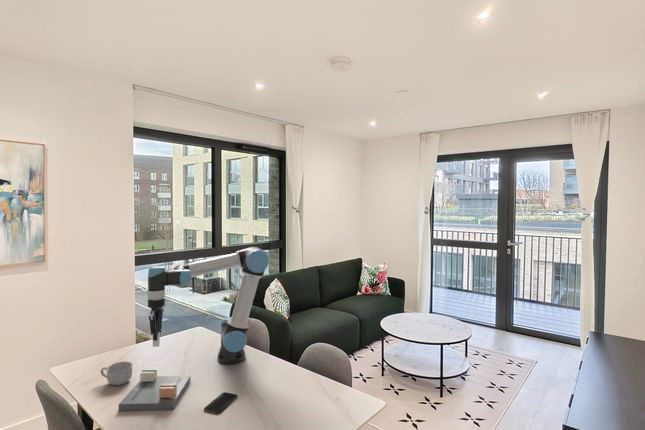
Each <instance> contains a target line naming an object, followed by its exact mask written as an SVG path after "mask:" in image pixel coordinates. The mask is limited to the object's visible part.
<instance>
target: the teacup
mask: <svg viewBox="0 0 645 430" xmlns="http://www.w3.org/2000/svg"><path fill="white" fill-rule="evenodd" d="M104 370H105V371H106V373H105V371H104ZM100 375H101V376H102V377H104V378H106V380H107V383H109V384H110V385H113V386H116V387H118V386H122V385H124V384H126V383H127V382H128V381H130V380H131V378H132V376H133V363H132V362H131V361H127V360H126V361H118V362H115V363H113V364H110V365H109V366H103V367H102V368H101V369H100Z"/></svg>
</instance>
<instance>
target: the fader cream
mask: <svg viewBox="0 0 645 430" xmlns="http://www.w3.org/2000/svg"><path fill="white" fill-rule="evenodd" d="M139 374H140V376H139V378H140V379H139V381H140V382H146V381H154V380H155V379H156V378H157V376H158V369H157V368H149V369H148V368H144V369H142V370H141V372H140V373H139Z"/></svg>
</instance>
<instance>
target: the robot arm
mask: <svg viewBox="0 0 645 430" xmlns="http://www.w3.org/2000/svg"><path fill="white" fill-rule="evenodd" d="M269 260H270V259H269V256H268V254H267V253H266V251H264V250H263V249H262V248H260V247H258V246H251V247H248V248H244V249H241V250H236V252H235V253H230V254H226V255H222V256H219V257H218V256H217V257H214V258H208V259H204V260H200V261H195V262H191V263H190V262H189V263H185V264H177V265H176V266H174V268H173V269H172V270H166V267H165V266H163V265H156V266H150V267H149V268H148V270H147V271H148V272H147V273H148V275H147V298H148V299H147V307H148V308H150V309H151V311H150V315H149V316H148V320H149V328H150V334H151V335H152V348H153V347H156V348H157V347H160V346H161V345H160V344H161V343H160V340H161V339H160V337H161V335H160V333H161V332H162V328H163V327H162V326H163V325H162V324H163V316H164V315H163V314H164V308H162V307H165V305H166V299H165V297H166V287H168V286H169V287H171V286H187V285H190V284H191V282H192V281H191V280H192V278H195V277H199V276H203V275H207V274H212V273H215V272H220V271H224V270H228V269H233V268H237V267H238V268H241V272H242V274H243V276H242V280H241V284H240V286H239V290H238V293H237V297H236V300H235V304H234V307H233V310H232V315H231V316H228V317H224V318H222V319H221V320H220V321H221V322H220V348H219V350H218V353H217V362H218V363H220V364H223V365H235V364H238V363H239V364H240V363H241V362H243V361H244V360H245V359H246V351H245V349H244V348H245V347H246V345H247V342H248V337H247V335H248V331H249V328H250V325H249V323H248V320H249V317H250V313H251V310H252V306H253V302H254V299H255V296H256V292H257V288H258V285H259V281H260V279H261V278H263V277H264V274H265V271H266V269H267V268H268V266H269V262H270V261H269Z"/></svg>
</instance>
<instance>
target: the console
mask: <svg viewBox="0 0 645 430" xmlns="http://www.w3.org/2000/svg"><path fill="white" fill-rule="evenodd" d="M190 383H191V375H164V376H163V375H161V376H160V375H157V378H156V379H155V380H154V381H146V382H140V380H139V381H138V382H137V383H136V384H135V386H133V387H132V389H131V390H130V391H129V392H128V393H127V394H126V395H125V397H124V398H123V399H121V401H120V402H119V403H118V412H137V411H138V412H141V411H142V412H143V411H146V412H147V411H173V410H174V409H175V408H176V406H177V405H178V403H179V401H180V399H181V398H182V396H183V394H184V393H185V391H186V390H187V388H188V387H189V385H190ZM162 384H177V393H176V394H175V396H174V397H172V398H159V388H160V386H161V385H162Z"/></svg>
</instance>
